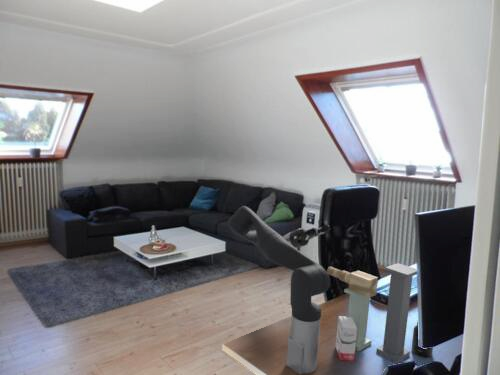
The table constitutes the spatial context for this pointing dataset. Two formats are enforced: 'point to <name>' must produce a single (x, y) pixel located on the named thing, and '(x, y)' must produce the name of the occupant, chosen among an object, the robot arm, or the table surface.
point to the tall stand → (397, 312)
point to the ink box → (346, 338)
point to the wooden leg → (356, 281)
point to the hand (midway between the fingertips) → (322, 228)
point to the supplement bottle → (416, 348)
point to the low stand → (359, 317)
